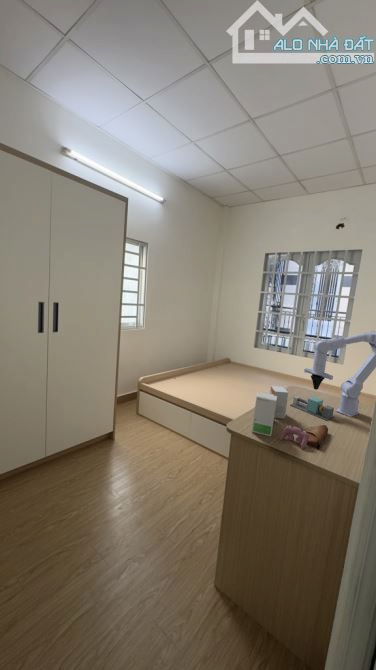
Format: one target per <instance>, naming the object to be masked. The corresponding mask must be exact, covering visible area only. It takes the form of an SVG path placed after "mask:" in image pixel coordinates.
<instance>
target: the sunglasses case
mask: <svg viewBox="0 0 376 670" xmlns="http://www.w3.org/2000/svg"><path fill="white" fill-rule="evenodd" d="M305 432H306V433H307V434H308V435H309V439H308V441H307V444H306V446H308V447H310V448H313V449H316V450H320V449H321V446H322V445H323V443H324V440H325V438H326V436H327V435H328V433H329V427H328V426H327V425H325V424H322V425H317V426H307V428H306V429H305Z"/></svg>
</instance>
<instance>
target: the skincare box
mask: <svg viewBox="0 0 376 670" xmlns="http://www.w3.org/2000/svg"><path fill="white" fill-rule="evenodd" d="M264 393H265V392H260V391H259V392H258V391H257V393H256V398H255V404H254V405H255V406H254V412H253V417H252V425H251V432H252V433H255V434H258V435H263V436H266V437H267V436H268V437H270V438H271V437H272V435H273V434H272V433H273V427H274V421H275V418H274V416H275V409H276V403H277V396H273V395H269V394H270V393H269V394H264Z"/></svg>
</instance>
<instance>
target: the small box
mask: <svg viewBox="0 0 376 670" xmlns="http://www.w3.org/2000/svg"><path fill="white" fill-rule="evenodd" d="M269 394H274V396H277V403H276V409H275V416H274V419H277V418H278V419H286V413H287V404H288V399H289V397H288V396H289V392H288V390H287V389H286V388H285V387H284V386H278V385H271V386H270V390H269Z"/></svg>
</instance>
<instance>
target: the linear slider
mask: <svg viewBox="0 0 376 670" xmlns="http://www.w3.org/2000/svg"><path fill="white" fill-rule="evenodd" d="M292 402H293V403H292V404H295V405H298V404H299V402H300V403H302V404H305V405H307V402H308V400H305V399H302V398H301V397H299V396H293V401H292ZM318 409H319V411H321V412H322V416H323V417H325V418H327V419H329V418H332V417H333V416H334V411H335V407H332V406H330V405H325V406H324V405H321V406H318ZM332 419H333V418H332ZM329 420H330V419H329Z"/></svg>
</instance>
